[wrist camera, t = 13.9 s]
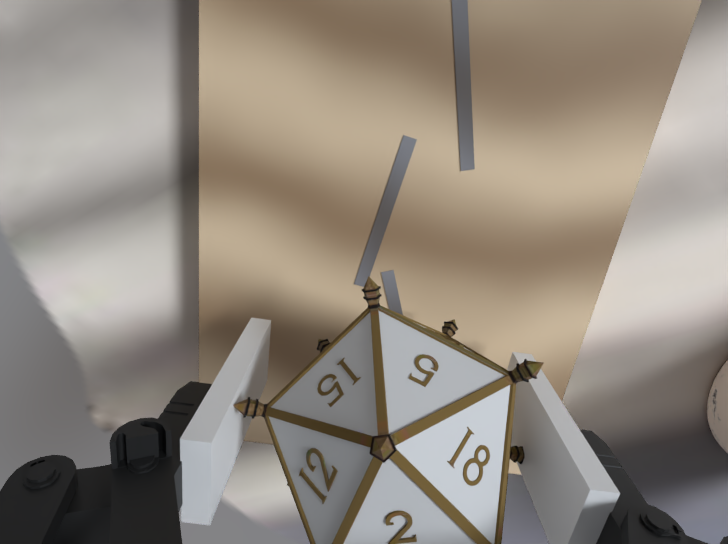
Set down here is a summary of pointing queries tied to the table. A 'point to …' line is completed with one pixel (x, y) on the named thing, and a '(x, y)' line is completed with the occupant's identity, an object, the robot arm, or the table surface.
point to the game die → (397, 434)
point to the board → (421, 167)
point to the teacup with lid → (719, 407)
